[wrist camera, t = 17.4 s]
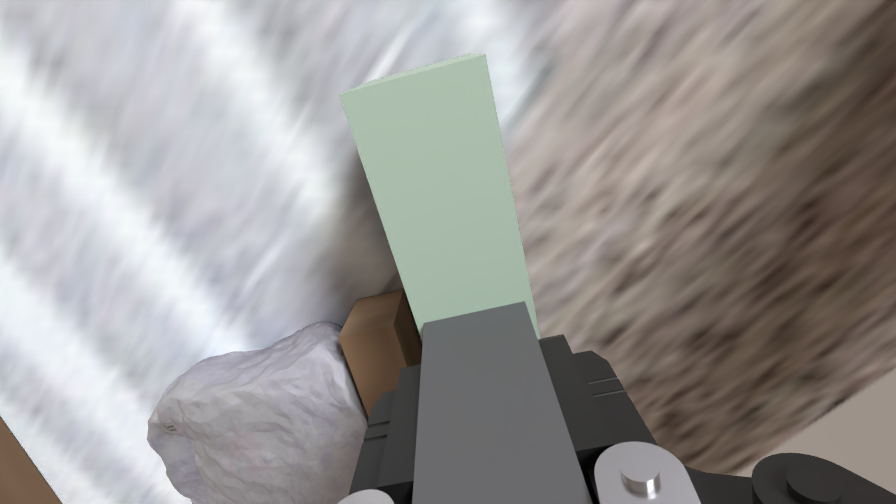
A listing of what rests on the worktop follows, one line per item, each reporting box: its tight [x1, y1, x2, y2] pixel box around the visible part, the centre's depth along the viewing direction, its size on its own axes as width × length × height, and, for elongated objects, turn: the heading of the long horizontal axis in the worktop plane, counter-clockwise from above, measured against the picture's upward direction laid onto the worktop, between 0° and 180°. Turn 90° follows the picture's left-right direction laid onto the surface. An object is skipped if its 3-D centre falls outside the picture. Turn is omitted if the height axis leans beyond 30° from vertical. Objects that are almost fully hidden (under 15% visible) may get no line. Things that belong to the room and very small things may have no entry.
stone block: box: [147, 322, 369, 504], centre depth 19 cm, size 12×5×10 cm
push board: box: [339, 54, 592, 504], centre depth 10 cm, size 14×3×12 cm, turn 14°
